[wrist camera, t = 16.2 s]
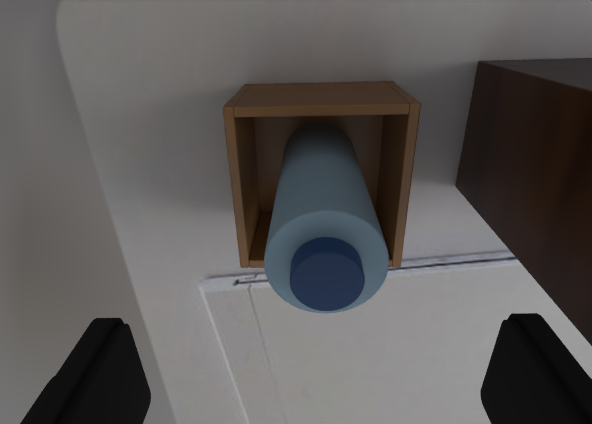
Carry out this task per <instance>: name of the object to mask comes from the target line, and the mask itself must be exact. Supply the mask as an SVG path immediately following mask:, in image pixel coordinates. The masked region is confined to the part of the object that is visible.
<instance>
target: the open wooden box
mask: <svg viewBox="0 0 592 424" xmlns="http://www.w3.org/2000/svg"><path fill="white" fill-rule="evenodd" d="M420 106H421V104H420V103H419V102H418V101H417V100H416V99H414V98H413V97H412V96H410V95H409V94H408V93H407V92H405V91H404V90H403V89H402V88H400V87H399V86H398V85H397V84H395V83H394V82H393V81H380V82H333V83H287V84H245V85H244V86H243V87H242V88H241V89H240V90H239V91H238V92H237V93H236V94H235V95H234V96H233V97H232V98H231V99H230V100H229V101H228V102H227V103H226V104H225V105H224V107H223V116H224V124H225V133H226V142H227V151H228V160H229V169H230V177H231V186H232V195H233V204H234V213H235V222H236V230H237V239H238V248H239V257H240V266H241V268H248V267H250V268H264V256H265V250H266V245H267V239H268V234H269V229H270V224H271V218H272V213H273V208H274V202H275V197H276V192H277V187H278V181H279V176H280V171H281V166H282V160H283V155H284V150H285V147H286V144H287V142H288V140H289V139H290V137H291V136H292V135H293V134H294V133H295V132H296V131H297V130H299V129H300V128H302V127H304V126H306V125H309V124H313V123H327V124H331V125H334V126H336V127H338V128H339V129H341V130H342V131H343V132H345V134H346V135H347V136H348V137H349V138H350V140H351V142H352V144H353V147H354V150H355V153H356V156H357V159H358V162H359V165H360V168H361V171H362V174H363V177H364V180H365V183H366V186H367V189H368V192H369V195H370V198H371V201H372V204H373V207H374V210H375V213H376V216H377V219H378V222H379V225H380V228H381V231H382V234H383V237H384V240H385V243H386V246H387V249H388V254H389V266H388V267H391V266H392V267H400V266H401V259H402V251H403V243H404V235H405V227H406V219H407V211H408V203H409V194H410V186H411V178H412V170H413V162H414V154H415V146H416V138H417V130H418V122H419V114H420Z"/></svg>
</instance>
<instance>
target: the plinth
mask: <svg viewBox="0 0 592 424" xmlns="http://www.w3.org/2000/svg"><path fill="white" fill-rule="evenodd" d="M456 188H457V189H458V190H459V191H460V192H461V194H462V195H463V196H464V197H465V198H466V199H467V201H468V202H469V203H470V204H471V205H472V206H473V208H474V209H475V210H476V211H477V212H478V213H479V215H480V216H481V217H482V218H483V219H484V220H485V222H486V223H487V224H488V225H489V226H490V227H491V229H492V230H493V231H494V232H495V233H496V235H497V236H498V237H499V238H500V239H501V240H502V242H503V243H504V244H505V245H506V246H507V247H508V249H509V250H510V251H511V252H512V253H513V254H514V256H515V257H516V258H517V259H518V260H519V261H520V263H521V264H522V265H523V266H524V267H525V268H526V270H527V271H528V272H529V273H530V274H531V275H532V277H533V278H534V279H535V280H536V281H537V283H538V284H539V285H540V286H541V287H542V288H543V290H544V291H545V292H546V293H547V294H548V295H549V297H550V298H551V299H552V300H553V301H554V302H555V304H556V305H557V306H558V307H559V308H560V309H561V311H562V312H563V313H564V314H565V315H566V316H567V318H568V319H569V320H570V321H571V322H572V323H573V325H574V326H575V327H576V328H577V329H578V330H579V332H580V333H581V334H582V335H583V336H584V338H585V339H586V340H587V341H588V342H589V343H590V345H591V346H592V58H578V59H535V60H493V61H479V62H478V67H477V72H476V78H475V83H474V89H473V94H472V100H471V105H470V110H469V116H468V121H467V127H466V132H465V138H464V143H463V148H462V154H461V159H460V165H459V170H458V176H457V181H456Z"/></svg>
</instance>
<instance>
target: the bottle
mask: <svg viewBox="0 0 592 424" xmlns="http://www.w3.org/2000/svg"><path fill="white" fill-rule="evenodd" d="M388 266H389V254H388V249H387V246H386V243H385V240H384V237H383V234H382V231H381V228H380V225H379V222H378V219H377V216H376V213H375V210H374V207H373V204H372V201H371V198H370V195H369V192H368V189H367V186H366V183H365V180H364V177H363V174H362V171H361V168H360V165H359V162H358V159H357V156H356V153H355V150H354V147H353V144H352V142H351V140H350V138H349V137H348V136H347V135H346V134H345V132H343V131H342V130H341V129H339V128H338V127H336V126H334V125H331V124H327V123H313V124H309V125H306V126H304V127H302V128H300V129H299V130H297V131H296V132H295V133H294V134H293V135H292V136H291V137H290V139H289V140H288V142H287V144H286V147H285V150H284V155H283V160H282V166H281V171H280V176H279V181H278V187H277V192H276V197H275V202H274V208H273V213H272V218H271V224H270V229H269V234H268V239H267V245H266V250H265V256H264V268H265V273H266V276H267V279H268V281H269V283H270V285H271V286H272V288H273V289H274V290H275V292H276V293H277V294H278V295H279V296H280V297H281V298H282V299H284V300H285V301H286V302H288V303H290V304H291V305H293V306H295V307H297V308H300V309H303V310H306V311H310V312H316V313H336V312H341V311H345V310H349V309H352V308H354V307H357V306H358V305H360V304H362V303H364V302H365V301H367V300H368V299H370V298H371V297H372V296H373V295H374V294H375V293H376V292H377V291H378V289H379V288H380V287H381V285H382V284H383V282H384V280H385V277H386V275H387V271H388Z"/></svg>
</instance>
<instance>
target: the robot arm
mask: <svg viewBox="0 0 592 424" xmlns="http://www.w3.org/2000/svg"><path fill="white" fill-rule="evenodd" d="M150 400H151V393H150V389H149V386H148V383H147V380H146V377H145V373H144V370H143V367H142V364H141V361H140V358H139V354H138V351H137V348H136V345H135V342H134V339H133V336H132V332H131V329H130V327H129V325H128V324H124V323H123V321H122V319H121V318H96V319H94V320H93V321H92V322H91V323H90V325H89V327H88V328H87V329H86V331H85V332H84V334H83V335H82V337H81V338H80V340H79V341H78V343H77V344H76V346H75V348H74V349H73V350H72V352H71V353H70V355H69V357H68V358H67V359H66V361H65V362H64V364H63V365H62V367H61V368H60V370H59V371H58V373H57V374H56V376H54V377H53V378H52V379H51V380H50V381H49V383H48V384H47V385H46V387H45V388H44V389H43V391H42V392H41V394H40V395H39V397H38V398H37V400H36V401H35V403H34V404H33V406H32V407H31V409H30V410H29V412H28V413H27V414H26V416H25V417H24V419H23V421H22V422H21V423H20V424H143V421H144V419H145V416H146V414H147V411H148V408H149V405H150ZM481 400H482V404H483V406H484V409H485V411H486V413H487V415H488V417H489V420H490V422H491V424H592V379H591V378H590V377H589V376H588V375H587V373H586V372H585V371H584V370H583V368H582V367H581V366H580V365H579V363H578V362H577V361H576V359H575V358H574V357H573V356H572V354H571V353H570V352H569V350H568V349H567V348H566V347H565V345H564V344H563V343H562V342H561V340H560V339H559V338H558V336H557V335H556V334H555V333H554V331H553V330H552V329H551V327H550V326H549V325H548V324H547V322H546V321H545V320H544V318H543V317H542V316H541V315H539V314H537V313H532V314H511V315H510V316H509V318H508V320H504V321H503V322H502V324H501V327H500V331H499V334H498V337H497V340H496V343H495V346H494V350H493V353H492V356H491V359H490V362H489V366H488V369H487V372H486V375H485V378H484V381H483V385H482V388H481Z"/></svg>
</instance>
